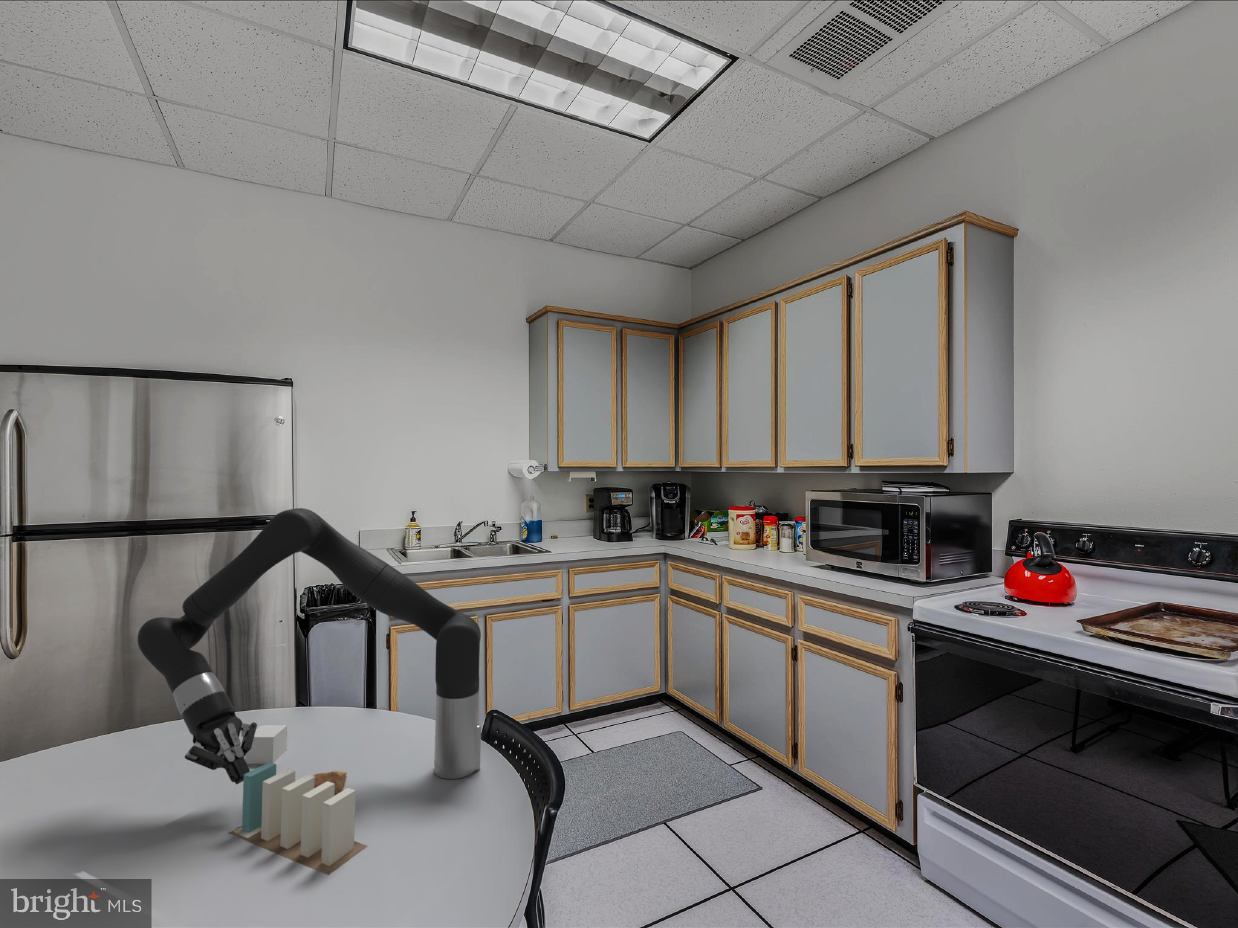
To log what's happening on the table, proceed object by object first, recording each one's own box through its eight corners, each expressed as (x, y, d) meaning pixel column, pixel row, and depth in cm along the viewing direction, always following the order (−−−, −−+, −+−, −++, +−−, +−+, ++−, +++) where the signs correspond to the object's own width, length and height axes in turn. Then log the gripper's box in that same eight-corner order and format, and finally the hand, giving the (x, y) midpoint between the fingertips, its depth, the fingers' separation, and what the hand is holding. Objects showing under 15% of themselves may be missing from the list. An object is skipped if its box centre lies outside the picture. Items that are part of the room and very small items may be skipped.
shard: (341, 804, 116) (341, 795, 116) (297, 811, 114) (298, 801, 114) (348, 777, 126) (348, 768, 126) (308, 782, 124) (308, 774, 124)
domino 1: (261, 838, 103) (262, 781, 103) (287, 822, 108) (288, 768, 108) (267, 840, 103) (269, 783, 103) (293, 825, 107) (295, 770, 107)
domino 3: (300, 854, 99) (302, 795, 99) (325, 837, 104) (327, 781, 104) (307, 857, 98) (309, 797, 99) (333, 840, 103) (334, 783, 103)
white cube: (286, 750, 137) (287, 725, 137) (272, 763, 131) (273, 736, 131) (260, 750, 136) (260, 725, 136) (245, 764, 130) (245, 736, 130)
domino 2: (280, 845, 101) (282, 788, 101) (306, 829, 106) (307, 774, 106) (287, 848, 100) (289, 790, 101) (313, 832, 105) (314, 776, 105)
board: (228, 837, 104) (228, 832, 104) (270, 813, 112) (270, 808, 112) (328, 879, 94) (328, 873, 94) (367, 850, 102) (367, 845, 102)
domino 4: (321, 862, 97) (323, 802, 97) (346, 845, 102) (347, 787, 102) (329, 865, 97) (330, 805, 97) (353, 848, 101) (355, 790, 101)
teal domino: (242, 830, 105) (243, 774, 105) (268, 815, 110) (269, 761, 110) (248, 832, 104) (250, 776, 105) (274, 817, 109) (276, 763, 109)
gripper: (174, 703, 107) (215, 786, 102) (246, 680, 119) (285, 753, 114) (156, 727, 109) (196, 809, 104) (228, 701, 121) (266, 774, 116)
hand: (243, 779), depth 109 cm, fingers closed
